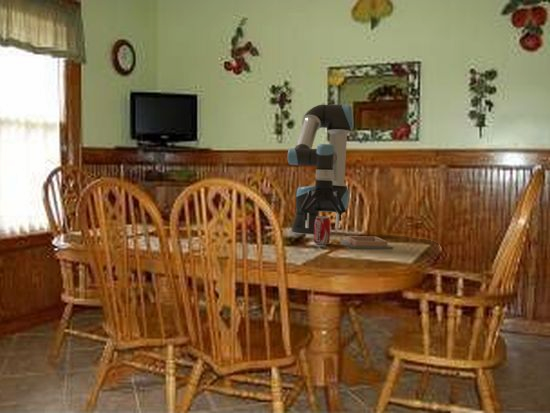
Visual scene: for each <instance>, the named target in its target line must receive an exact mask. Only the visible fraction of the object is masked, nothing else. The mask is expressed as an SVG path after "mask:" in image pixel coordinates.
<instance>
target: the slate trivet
mask: <svg viewBox="0 0 550 413" xmlns="http://www.w3.org/2000/svg"><path fill="white" fill-rule="evenodd" d="M339 242H341V243H340V244H342V245H344V246H346V247H348V248H349V249H352V250H393V249H394V246H392V245H389V244H388V243H389V242H388V240H385V239H382V238H380V237H378V236H361V235H360V236H357V235H356V236H352V235H349V236H348V235H346V236H345V237H344V239H339Z"/></svg>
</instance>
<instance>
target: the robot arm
mask: <svg viewBox="0 0 550 413" xmlns="http://www.w3.org/2000/svg"><path fill="white" fill-rule="evenodd" d="M353 112H354V111H353V108H352V106H350V104H349V105H348V104H318V105H315V106H314V107H312V108H310V109H309V110H307V112H306V113H305V114H304V115H303V117H302V120H301V129H300V131H299V135H298V138H297V141H296V144H295V147H292V148H289V149H288V151H287V162H288V164H289V165H293V166H311V167H312V166H315V179H316V180H315V183H314V184H315V185H309V186H308V185H306V186H300V187H298V188H297V189H296V195H295V217H294V220H293V222H292V225H291V232H295V233H303V234H314V222H315V219H316V216H320V215H319V212H325V213H335V223H334V224H335V225H334V227H335V229H339V228H340V222H341V221H342V214H343V213H346V211H347V209H348V207H349V203H350V202H349V201H350V197H351V195H350V194H351V191H350V189H348V185H347V184H346V183H345V177H346V163H347V162H346V158H347V156H346V154H347V144H348V143H347V142H348V140H347V139H348V135H349V134H350V133H351V129H354V125H355V124H354V122H355V121H354V114H353ZM320 128H322V129H325V128H326V132H328V134H329V144H328V143H327V144H325V143H321V144H320V143H319V144H317V146H316V148H314V149H313V145H314V142H315V138H316V135H317V131H319V130H320Z"/></svg>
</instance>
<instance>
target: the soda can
mask: <svg viewBox="0 0 550 413" xmlns="http://www.w3.org/2000/svg"><path fill="white" fill-rule="evenodd" d="M330 238H331V220H330V217H329V216H325V215H319V216H316V219H315V222H314V233H313V242H314V244H316V245H319V246H326V245H328V244H329V243H330V240H331V239H330Z"/></svg>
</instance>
